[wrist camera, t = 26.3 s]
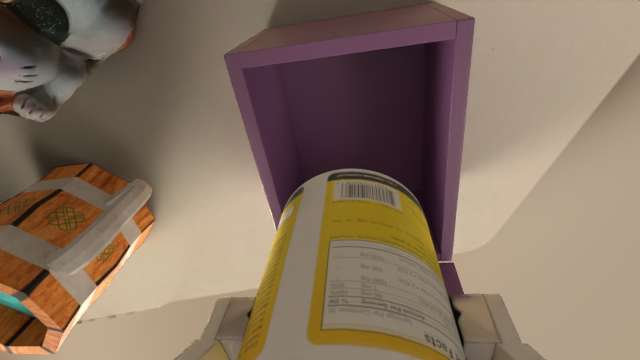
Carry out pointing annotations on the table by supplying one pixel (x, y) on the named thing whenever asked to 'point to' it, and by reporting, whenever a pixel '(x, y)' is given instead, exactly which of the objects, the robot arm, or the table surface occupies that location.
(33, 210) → the wooden beer tankard
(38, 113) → the lucky cat figurine
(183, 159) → the table surface
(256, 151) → the box
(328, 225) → the pill bottle
